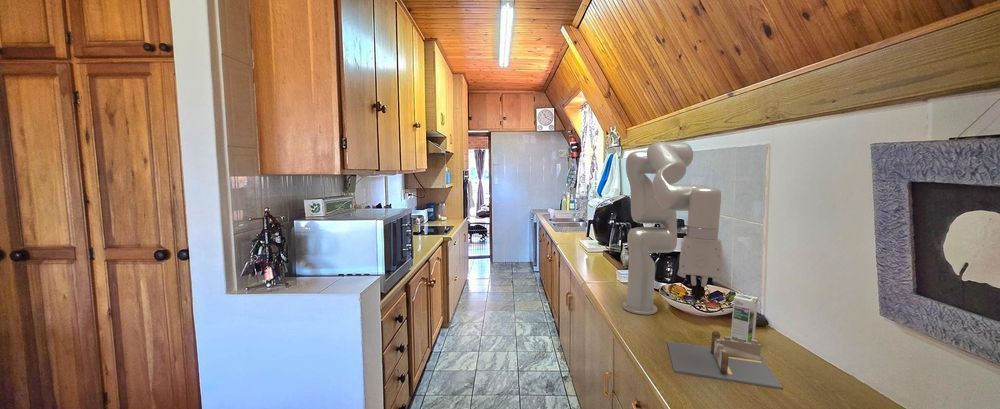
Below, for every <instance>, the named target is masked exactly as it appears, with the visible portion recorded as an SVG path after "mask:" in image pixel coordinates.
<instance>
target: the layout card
mask: <svg viewBox="0 0 1000 409" xmlns="http://www.w3.org/2000/svg"><path fill="white" fill-rule="evenodd" d="M666 345H667V348H668V354H669V357H670V361H671V364H672V369H673V373H677V374H678V373H679V374H684V375H690V376H697V377H703V378H709V379H716V380H722V381H729V382H733V383H740V384H748V385H754V386H760V387H766V388H772V389H778V390H783V389H784V387H783V385H782V384H781V382H780V381H779V380H778V378H777V377H776V376H775V374H774V372H773V371H772V370H771V369H770V367H769V366H768V364H767V363H766V361H765V360H764V358H763V357H762V355H760V361H759V360H752V359H745V358H738V357H731V356H729V359H728V371H727V373H726V374H725V373H722V372H721V371H720V370H721V369H720V367H719V364H718V362H717V360H716V358H715V355H713V354H711V346H708V345H707V346H705V345H700V344H699V345H698V344H690V343H685V342H684V343H683V342H677V341H670V340H668V341H666Z"/></svg>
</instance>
